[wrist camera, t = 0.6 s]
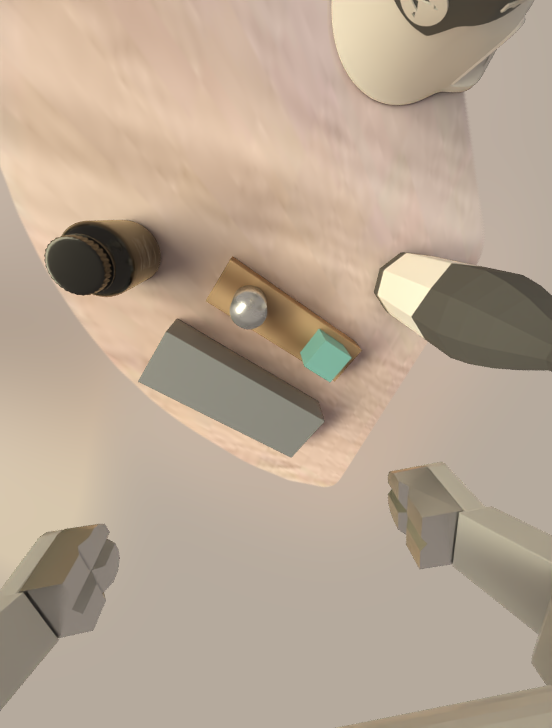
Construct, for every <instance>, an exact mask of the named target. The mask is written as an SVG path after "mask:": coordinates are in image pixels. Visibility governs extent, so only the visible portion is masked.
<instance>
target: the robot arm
mask: <svg viewBox="0 0 552 728" xmlns="http://www.w3.org/2000/svg"><path fill="white" fill-rule="evenodd" d="M533 2H534V0H332V26H333V34H334V39H335V44H336V48H337V51H338V54H339V57H340V60H341V62H342V64H343V66H344V68H345V70H346V72H347V74H348V75H349V77H350V78H351V80H352V81H353V82H354V84H355V85H356V86H357V87H358V88H359V89H360V90H361V91H362V92H363V93H365V94H366V95H367V96H369V97H370V98H372V99H374V100H376V101H378V102H381V103H384V104H389V105H405V104H410V103H414V102H417V101H420V100H422V99H424V98H426V97H428V96H430V95H433V94H435V93H438V92H442V91H444V92H464V91H467V90H469V89H470V88H471V87H472V86H473V85H475V84H476V83H477V82H478V81H479V80H480V78H481V77H482V75H483V73H484V71H485V69H486V68H487V66H488V64H489V62H490V60H491V59H492V57H493V55H494V53H495V51H496V50H497V48H498V47H500V46H501V45H502V44H503V43H504V42H505V41H507V40H508V39H509V38H510V37H511V36H512V35H514V33H516V31H518V30H519V29H520V27H521V26H522V25H523V24H524V22H525V15H526V13H527V11H528V10H529V8H530V7H531V5H532V3H533ZM388 483H389V485H390V487H391V488H392V489H391V491H390V492H389V493H388V504H389V508H390V512H391V515H392V518H393V520H394V522H395V524H396V526H397V528H398V530H400V531H401V532H403V533H404V534H406V545H407V547H408V549H409V550H410V552H411V554H412V556H413V558H414V560H415V562H416V563H417V565H418V567H419V569H424V568H430V567H437V566H443V565H450V564H453V567H454V568H456V569H457V570H458V571H459V572H461V573H462V574H463V575H465V576H466V577H467V578H468V579H469V580H471V581H472V582H473V583H474V584H476V585H477V586H478V587H480V588H481V589H482V590H483V591H485V592H486V593H487V594H488V595H490V596H491V597H492V598H493V599H495V600H496V601H497V602H499V603H500V604H501V605H502V606H503V607H505V608H506V609H507V610H509V611H510V612H511V613H512V614H513V615H515V616H516V617H517V618H519V619H520V620H521V621H522V622H523V623H525V624H526V625H527V626H528V627H530V628H531V629H532V630H533V631H535V632H536V633H537V634H539V635H538V639H537V642H536V644H535V648H534V651H533V654H532V664H533V666H534V667H535V668H536V670H537V672H538V673H539V675H540V676H541V678H542V679H543V681H544V682H545V684H546V685H547V686H543V687H538V688H533V689H527V690H522V691H517V692H513V693H507V694H502V695H497V696H492V697H487V698H483V699H477V700H472V701H467V702H462V703H457V704H452V705H447V706H442V707H437V708H433V709H427V710H422V711H417V712H412V713H407V714H402V715H397V716H392V717H387V718H382V719H377V720H372V721H367V722H362V723H358V724H352V725H347V726H342V727H337V728H552V535H550V534H548V533H545V532H543V531H541V530H539V529H537V528H535V527H533V526H531V525H529V524H527V523H525V522H522V521H521V520H519V519H517V518H515V517H512V516H510V515H508V514H506V513H504V512H502V511H500V510H498V509H496V508H494V507H492V506H491V507H485V506H484V505H483V504H482V503H481V502H480V501H479V500H478V498H477V497H476V496H475V495H474V494H473V493H472V492H471V491H470V490H469V489H468V488H467V487H466V486H465V484H463V482H462V481H461V480H460V479H459V478H458V477H457V476H456V475H455V474H454V473H453V472H452V471H451V469H450V468H449V467H448V466H447V465H446V464H445V463H443V462H437V463H432V464H426V465H423V466H416V467H411V468H405V469H400V470H395V471H390V472H389V474H388ZM108 535H109V530H108V529H107V527H106V525H105V524H95V525H88V526H83V527H75V528H69V529H64V530H58V531H51V532H46V533H45V534H43V535H42V536H40V537H39V538H38V540H37V541H36V542H35V544H34V545H33V546H32V548H31V549H30V551H29V552H28V553H27V555H26V556H25V557H24V558H23V560H22V561H21V563H20V564H19V565H18V567H17V568H16V569H15V571H14V572H13V573H12V575H11V576H10V577H9V579H8V580H7V581H6V583H5V584H4V585H3V587H2V588H1V590H0V711H1V709H2V708H3V707H4V706H5V704H6V703H7V702H8V701H9V700H10V699H11V697H12V696H13V695H14V694H15V692H16V691H17V690H18V689H19V688H20V686H21V685H22V684H23V683H24V681H25V680H26V679H27V678H28V677H29V676H30V674H31V673H32V672H33V671H34V669H35V668H36V667H37V666H38V665H39V663H40V662H41V661H42V660H43V659H44V657H45V656H46V655H47V654H48V653H49V651H50V650H51V649H52V648H53V646H54V645H55V644H56V643H57V642H58V638H61V637H66V636H70V635H75V634H79V633H84V632H88V631H93V630H94V627H95V625H96V623H97V620H98V618H99V616H100V613H101V610H102V608H103V606H104V604H105V601H106V599H105V595H104V591H105V590H106V589H107V588H108V587H109V586H110V585H111V584H112V583H113V582H114V579H115V577H116V574H117V572H118V567H119V559H120V557H119V551H118V548H117V546H116V544H115V543H114V542H112V541H110V540H108V539H107V538H108Z"/></svg>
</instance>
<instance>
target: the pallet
mask: <svg viewBox="0 0 552 728" xmlns="http://www.w3.org/2000/svg"><path fill="white" fill-rule="evenodd" d="M246 285H253V286H256V287H258V288H259V289H261V290H262V291H263V293H264V294H265V297H266V302H267V316H266V319H265V321H264V322H263V324H261V325H260V326H259V327H257V328H254V329H251V330H253V331H255V332H256V333H258V334H260V335H261V336H263V337H264V338H266V339H268V340H269V341H271V342H272V343H274V344H276V345H277V346H279V347H280V348H282V349H284V350H285V351H287V352H288V353H290V354H292V355H293V356H295V357H296V358H298V359H300V360H301V361H303V360H302V357H301V354H300V352H301V351H302V350H303V348H304V347H305V346H306V344H307V343H308V342H309V341H310V339H311V338H312V337H313V336H314V334H315V333H316V332H317V330H318V329H321V330H322V331H324V332H325V333H326V334H328V335H329V336H331V337H332V338H334V339H335V340H337V341H338V342H340V343H341V344H343V345H344V347H345V348H346V350H347V351H348V353H349V354H350V356H351V357H352V358H351V359H350V360H349V362H348V363H347V364H346V365H345V366H344V367H343V368H342V370H341V371H340V372H339V373H338V374H337V375H336V376H335V378H334V379H333V381H335V380H336V379H337V378H338V377H339V376H340V375H341V374H342V372H343V371H344V370H345V369H346V368H347V367H348V365H349V364H350V363H351V362H352V361H353V360H354V359H355V357H356V356H357V355H358V354H359V353H360V352H361V351H362V350H361V349H360V347H359V346H358V345H357V344H356V342H355V341H354V340H352V339H351V338H349V337H348V336H347V335H345V334H344V333H342V332H341V331H339V330H338V329H336V328H335V327H334V326H332V325H331V324H329V323H328V322H326V321H325V320H323V319H322V318H321V317H319V316H318V315H316V314H315V313H313V312H312V311H311V310H309V309H308V308H306V307H305V306H303V305H302V304H300V303H299V302H298V301H296V300H295V299H293V298H292V297H290V296H289V295H287V294H286V293H285V292H283V291H282V290H280V289H279V288H277V287H276V286H274V285H273V284H272V283H270V282H269V281H267V280H266V279H264V278H263V277H261V276H260V275H259V274H257V273H256V272H254V271H253V270H251V269H250V268H248V267H247V266H246V265H244V264H243V263H241V262H240V261H238V260H237V259H236V258H234V257H232V258H231V259H230V261H229V263H228V264H227V266H226V268H225V269H224V271H223V273H222V274H221V276H220V278H219V279H218V281H217V283H216V284H215V286H214V288H213V290H212V291H211V293H210V295H209V296H208V298H207V300H206V301H207V302H208V303H210V304H211V305H213V306H215V307H216V308H218V309H219V310H221V311H223V312H224V313H226V314H227V315H229V316H230V305H231V302H232V300H233V297H234V294H235V292H236V291H237V290H238V289H239V288H241V287H243V286H246Z"/></svg>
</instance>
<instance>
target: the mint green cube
mask: <svg viewBox="0 0 552 728" xmlns="http://www.w3.org/2000/svg"><path fill="white" fill-rule="evenodd" d="M300 354H301V357H302V360H303V364H304V367H306V368H308V369H309V370H311V371H313V372H314V373H316V374H317V375H319V376H321V377H322V378H324V379H325V380H327V381H329V382H331V381H332V380H333V379H334V378H335V376H336V375H337V374H338V373H339V372H340V371H341V370H342V368H343V367H344V366H345V365H346V364H347V363H348V362H349V360H350V359H351V358H352V357H351V356H350V354H349V353H348V351H347V350H346V348H345V347H344V345H343V344H341V343H340V342H338V341H337V340H335V339H334V338H332V337H331V336H329V335H328V334H326V333H325V332H324V331H322V330H321V329H318V330H317V332H316V333H315V334H314V336H313V337H312V338H311V339H310V341H309V342H308V343H307V344H306V346H305V347H304V348H303V350H302V351H301V352H300Z"/></svg>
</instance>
